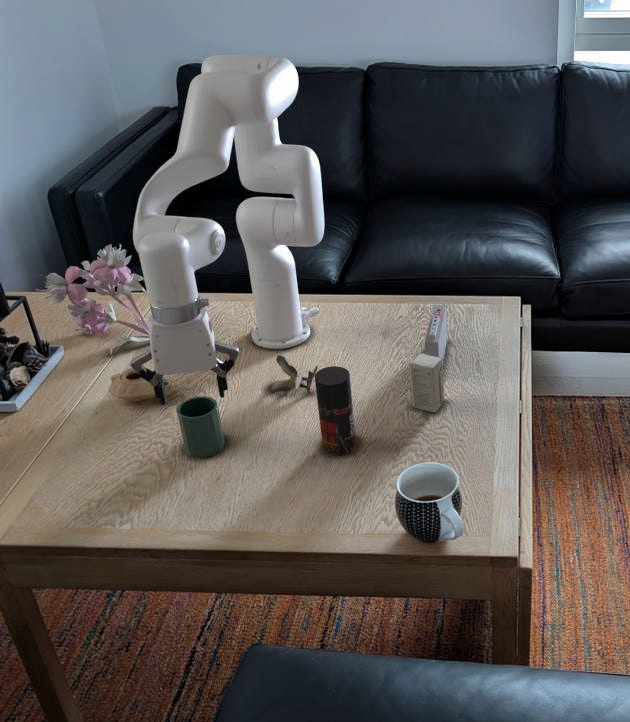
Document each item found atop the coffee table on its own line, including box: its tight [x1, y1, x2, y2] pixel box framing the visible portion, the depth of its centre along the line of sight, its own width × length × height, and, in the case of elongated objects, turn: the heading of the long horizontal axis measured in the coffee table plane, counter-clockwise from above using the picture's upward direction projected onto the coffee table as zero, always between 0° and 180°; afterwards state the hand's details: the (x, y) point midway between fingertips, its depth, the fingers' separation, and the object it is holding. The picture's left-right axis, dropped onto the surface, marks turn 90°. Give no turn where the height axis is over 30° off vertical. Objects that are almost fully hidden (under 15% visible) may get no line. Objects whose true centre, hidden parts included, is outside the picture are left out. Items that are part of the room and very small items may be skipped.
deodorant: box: [314, 365, 357, 457], centre depth 146 cm, size 6×6×15 cm
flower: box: [35, 243, 150, 355], centre depth 177 cm, size 20×22×25 cm
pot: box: [175, 395, 226, 459], centre depth 147 cm, size 7×7×8 cm
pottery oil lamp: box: [108, 367, 176, 403], centre depth 160 cm, size 9×12×7 cm
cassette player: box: [424, 304, 448, 359], centre depth 172 cm, size 16×3×10 cm, turn 176°
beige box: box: [409, 352, 445, 413], centre depth 158 cm, size 5×4×10 cm
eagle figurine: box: [267, 354, 319, 395], centre depth 163 cm, size 8×7×9 cm
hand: (193, 397), depth 143 cm, fingers open, 9 cm apart
